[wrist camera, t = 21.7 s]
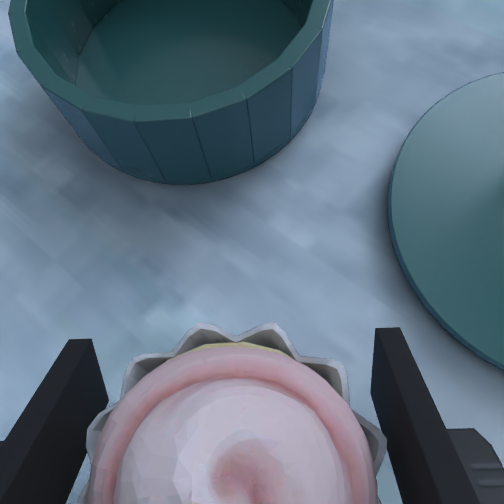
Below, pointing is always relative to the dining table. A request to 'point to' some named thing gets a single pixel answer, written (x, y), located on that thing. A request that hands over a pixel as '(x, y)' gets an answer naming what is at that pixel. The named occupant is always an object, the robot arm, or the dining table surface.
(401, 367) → the robot arm
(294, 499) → the cupcake
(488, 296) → the tin lid
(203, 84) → the tin
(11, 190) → the dining table surface
